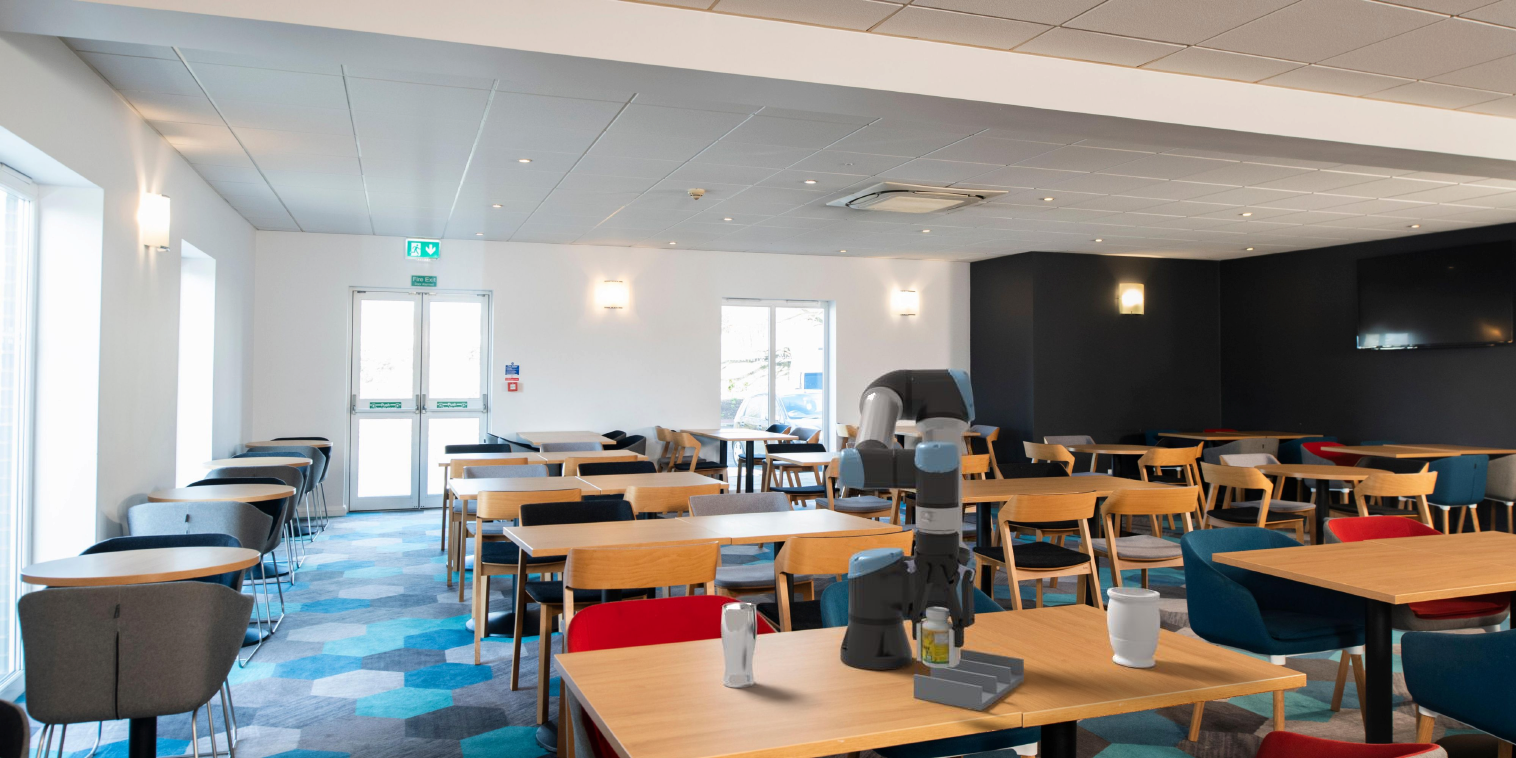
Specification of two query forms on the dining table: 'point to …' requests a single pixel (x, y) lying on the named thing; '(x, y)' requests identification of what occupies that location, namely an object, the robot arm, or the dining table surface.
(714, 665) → the dining table surface
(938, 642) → the supplement bottle
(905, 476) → the robot arm
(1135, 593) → the jar
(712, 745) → the dining table surface
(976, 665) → the rack
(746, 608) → the beer glass
